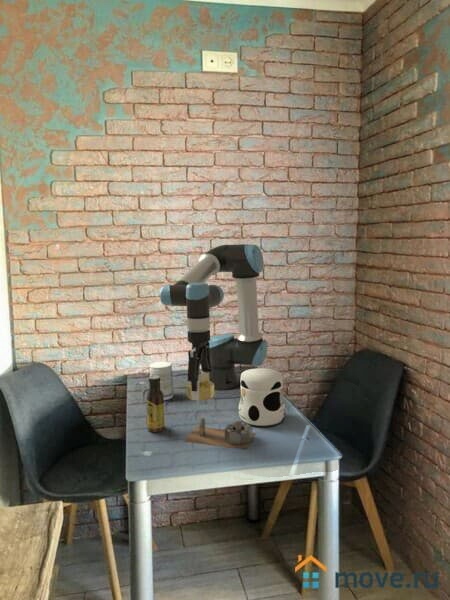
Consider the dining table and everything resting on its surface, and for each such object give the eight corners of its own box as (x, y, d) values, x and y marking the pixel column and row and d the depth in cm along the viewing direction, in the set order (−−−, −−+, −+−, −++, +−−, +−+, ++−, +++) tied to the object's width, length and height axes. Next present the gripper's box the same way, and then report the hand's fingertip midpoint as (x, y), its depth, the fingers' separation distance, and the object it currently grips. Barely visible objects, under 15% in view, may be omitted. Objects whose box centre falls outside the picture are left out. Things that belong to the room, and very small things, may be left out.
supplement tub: (177, 398, 195) (176, 364, 193) (157, 403, 190) (155, 369, 187) (167, 391, 203) (165, 359, 201) (147, 396, 198) (145, 363, 195)
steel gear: (230, 432, 158) (230, 421, 157) (254, 435, 155) (254, 424, 155) (222, 443, 150) (222, 432, 149) (247, 446, 147) (247, 435, 147)
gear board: (196, 429, 164) (196, 410, 163) (256, 436, 157) (255, 416, 156) (183, 444, 152) (182, 424, 151) (247, 452, 146) (246, 431, 145)
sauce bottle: (145, 427, 166) (143, 375, 163) (162, 424, 168) (160, 372, 165) (150, 434, 160) (147, 380, 157) (167, 431, 163) (164, 377, 160)
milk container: (231, 416, 174) (230, 370, 172) (272, 409, 181) (272, 365, 178) (250, 434, 158) (249, 384, 156) (294, 426, 165) (294, 378, 162)
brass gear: (193, 390, 160) (193, 379, 159) (216, 392, 157) (216, 381, 157) (183, 398, 152) (183, 387, 151) (208, 401, 149) (207, 389, 149)
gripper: (199, 323, 162) (201, 384, 166) (175, 336, 142) (177, 405, 146) (219, 323, 160) (221, 385, 163) (197, 337, 140) (199, 407, 143)
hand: (200, 394), depth 154 cm, fingers closed on brass gear, 9 cm apart
